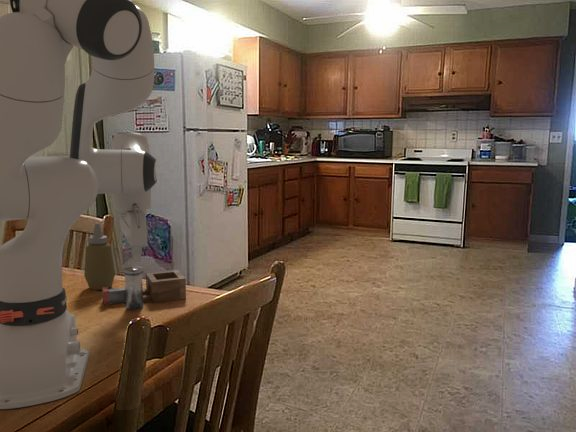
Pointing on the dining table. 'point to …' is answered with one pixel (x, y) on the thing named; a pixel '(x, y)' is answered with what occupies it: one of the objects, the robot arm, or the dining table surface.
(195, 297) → the dining table surface
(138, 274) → the grey cylindrical piece
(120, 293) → the grey rectangular block
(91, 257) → the squeeze bottle
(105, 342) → the dining table surface
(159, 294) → the box
